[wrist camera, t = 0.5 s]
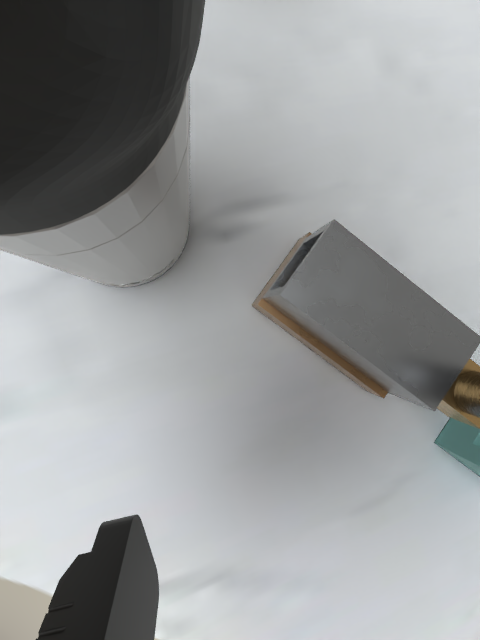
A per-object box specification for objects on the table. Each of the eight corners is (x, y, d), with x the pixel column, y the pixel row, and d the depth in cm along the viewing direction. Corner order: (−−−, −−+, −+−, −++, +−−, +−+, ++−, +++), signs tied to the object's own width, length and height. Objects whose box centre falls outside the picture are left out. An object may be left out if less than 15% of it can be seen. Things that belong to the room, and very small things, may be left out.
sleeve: (251, 305, 27) (274, 302, 20) (298, 239, 27) (339, 212, 20) (366, 390, 28) (429, 418, 21) (410, 327, 29) (487, 331, 21)
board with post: (286, 294, 24) (391, 273, 11) (313, 256, 24) (445, 196, 12) (447, 416, 25) (692, 513, 13) (471, 380, 26) (734, 442, 13)
